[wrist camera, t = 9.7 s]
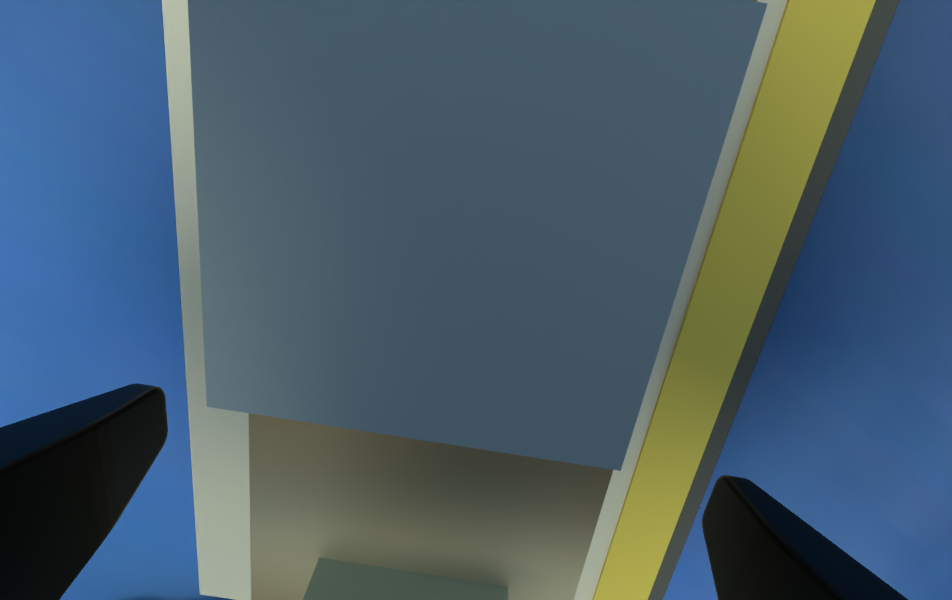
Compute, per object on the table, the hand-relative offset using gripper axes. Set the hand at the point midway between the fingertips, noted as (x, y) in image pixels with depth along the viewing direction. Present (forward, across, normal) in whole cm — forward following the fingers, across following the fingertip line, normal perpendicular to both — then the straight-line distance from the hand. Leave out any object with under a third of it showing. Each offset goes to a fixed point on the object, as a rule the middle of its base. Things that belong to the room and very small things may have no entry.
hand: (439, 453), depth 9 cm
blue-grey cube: (0, 0, -4) cm, 5 cm away
